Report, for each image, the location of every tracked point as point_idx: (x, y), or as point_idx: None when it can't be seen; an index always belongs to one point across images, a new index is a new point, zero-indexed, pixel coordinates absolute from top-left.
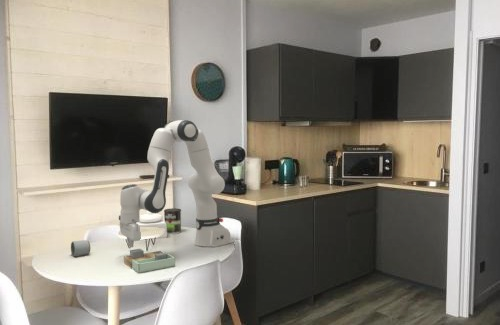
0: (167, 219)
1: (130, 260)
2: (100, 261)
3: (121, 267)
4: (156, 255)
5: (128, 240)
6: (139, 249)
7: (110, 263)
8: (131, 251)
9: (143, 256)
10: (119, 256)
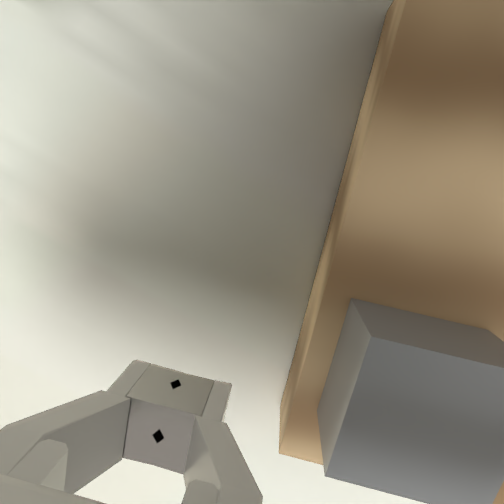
0: None
1: None
2: (88, 483)
3: None
4: None
5: (77, 477)
6: (415, 373)
7: None
8: (405, 497)
9: (491, 338)
10: (48, 319)
